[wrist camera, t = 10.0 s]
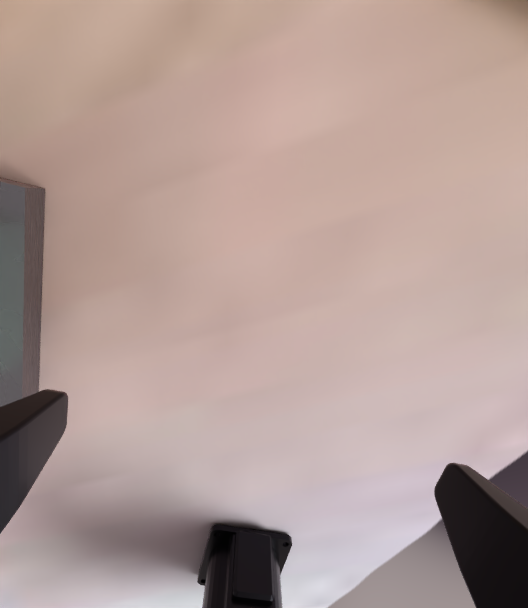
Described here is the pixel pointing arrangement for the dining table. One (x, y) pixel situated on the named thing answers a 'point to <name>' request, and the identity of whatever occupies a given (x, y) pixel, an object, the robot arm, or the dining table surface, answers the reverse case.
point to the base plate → (20, 288)
